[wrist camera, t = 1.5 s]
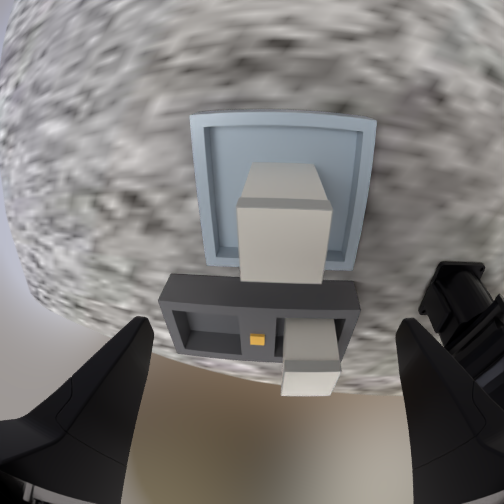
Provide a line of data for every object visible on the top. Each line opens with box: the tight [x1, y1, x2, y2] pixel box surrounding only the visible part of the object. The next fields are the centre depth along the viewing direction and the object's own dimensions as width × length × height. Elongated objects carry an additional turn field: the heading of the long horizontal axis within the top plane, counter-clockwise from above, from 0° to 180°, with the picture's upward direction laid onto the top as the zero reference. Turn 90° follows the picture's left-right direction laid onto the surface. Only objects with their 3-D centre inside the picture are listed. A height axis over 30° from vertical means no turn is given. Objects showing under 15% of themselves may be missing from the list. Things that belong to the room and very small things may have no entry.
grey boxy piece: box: [158, 274, 361, 396], centre depth 22 cm, size 16×8×8 cm, turn 91°
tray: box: [190, 109, 377, 271], centre depth 18 cm, size 11×11×2 cm
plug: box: [236, 162, 333, 284], centre depth 15 cm, size 4×4×7 cm
